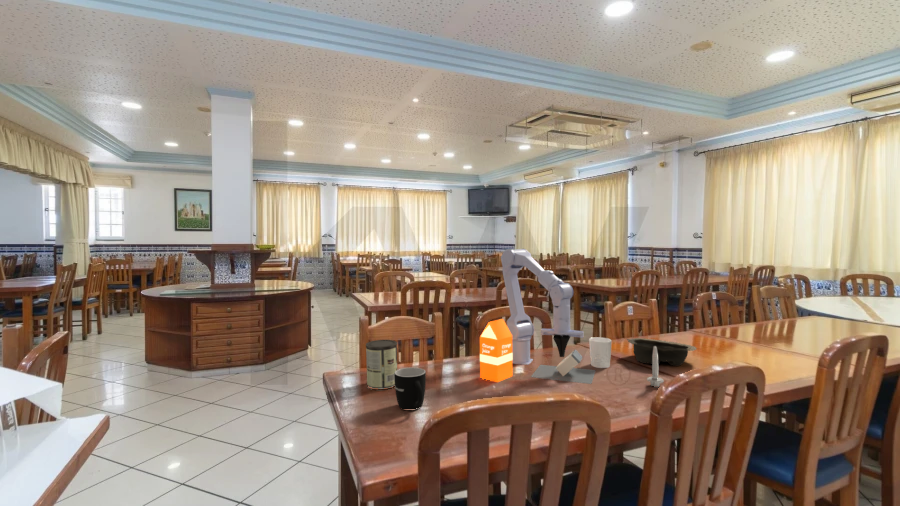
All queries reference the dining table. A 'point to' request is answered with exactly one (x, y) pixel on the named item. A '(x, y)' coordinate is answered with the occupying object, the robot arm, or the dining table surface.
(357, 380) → the dining table surface
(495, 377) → the orange juice
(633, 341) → the stone bowl
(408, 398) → the mug
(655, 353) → the screw
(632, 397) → the dining table surface
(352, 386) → the dining table surface
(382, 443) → the dining table surface
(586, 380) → the mat
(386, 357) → the coffee can
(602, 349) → the white cup
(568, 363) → the beige rectangular block
